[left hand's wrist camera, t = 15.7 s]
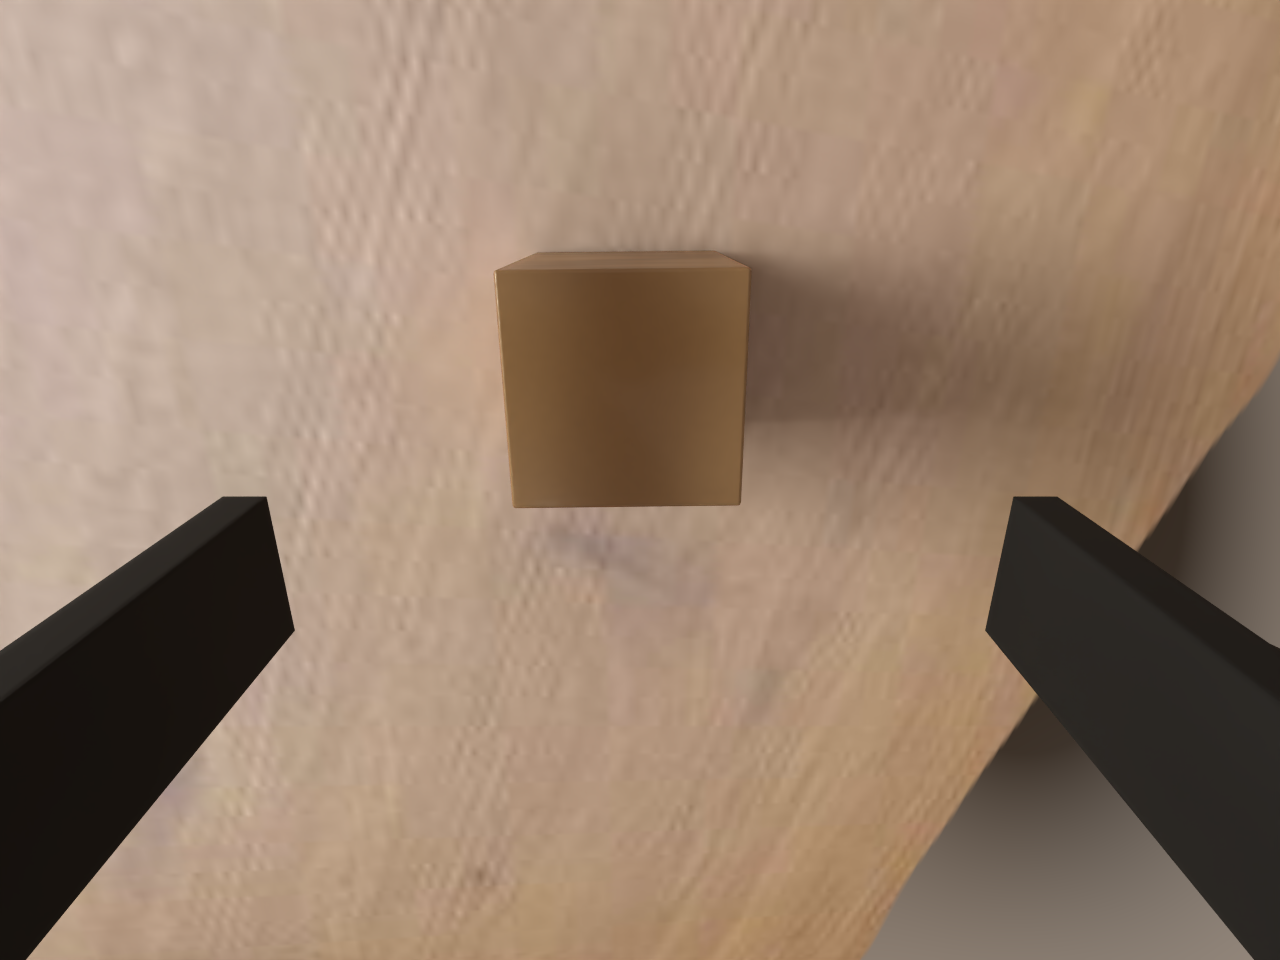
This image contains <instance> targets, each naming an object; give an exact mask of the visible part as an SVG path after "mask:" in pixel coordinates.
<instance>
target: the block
mask: <svg viewBox="0 0 1280 960" xmlns="http://www.w3.org/2000/svg"><path fill="white" fill-rule="evenodd" d="M751 272H752V271H751V268H749V267H747V266H745V265H743V264H741V263H739V262H737V261H735V260H733V259H731V258H728V257H726V256H724V255H722V254H720V253H718V252H716V251H641V252H548V253H536V254H533V255H531V256H528V257H526V258H524V259H521V260H519V261H517V262H514V263H512V264H510V265H507V266H505V267H502V268H500V269H498V270H495V271H494V284H495V296H496V308H497V320H498V332H499V345H500V357H501V369H502V381H503V393H504V406H505V418H506V430H507V442H508V455H509V467H510V479H511V491H512V503H513V507H514V508H558V507H640V506H722V505H740V503H741V490H742V468H743V446H744V424H745V402H746V381H747V359H748V337H749V315H750V293H751Z"/></svg>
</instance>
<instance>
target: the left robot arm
mask: <svg viewBox="0 0 1280 960" xmlns="http://www.w3.org/2000/svg"><path fill="white" fill-rule="evenodd" d="M294 631H295V629H294V625H293V620H292V615H291V611H290V606H289V601H288V596H287V592H286V587H285V582H284V577H283V573H282V568H281V563H280V558H279V554H278V549H277V544H276V540H275V535H274V530H273V525H272V521H271V516H270V511H269V506H268V502H267V497H222V498H220V499H219V500H217V501H216V502H214V503H213V504H212V505H210V506H209V507H207V508H206V509H204V510H203V511H201V512H200V513H199V514H197V515H196V516H194V517H193V518H191V519H190V520H188V521H187V522H186V523H184V524H183V525H181V526H180V527H178V528H177V529H175V530H174V531H173V532H171V533H170V534H168V535H167V536H165V537H164V538H162V539H161V540H160V541H158V542H157V543H155V544H154V545H152V546H151V547H149V548H148V549H147V550H145V551H144V552H142V553H141V554H139V555H138V556H136V557H135V558H134V559H132V560H131V561H129V562H128V563H126V564H125V565H123V566H122V567H121V568H119V569H118V570H116V571H115V572H113V573H112V574H110V575H109V576H108V577H106V578H105V579H103V580H102V581H100V582H99V583H97V584H96V585H95V586H93V587H92V588H90V589H89V590H87V591H86V592H84V593H83V594H82V595H80V596H79V597H77V598H76V599H74V600H73V601H71V602H70V603H69V604H67V605H66V606H64V607H63V608H61V609H60V610H58V611H57V612H56V613H54V614H53V615H51V616H50V617H48V618H47V619H45V620H44V621H43V622H41V623H40V624H38V625H37V626H35V627H34V628H32V629H31V630H30V631H28V632H27V633H25V634H24V635H22V636H21V637H19V638H18V639H17V640H15V641H14V642H12V643H11V644H9V645H8V646H6V647H5V648H4V649H2V650H1V651H0V960H26V959H27V958H28V956H29V955H30V954H31V953H32V952H33V950H34V949H35V948H36V947H37V945H38V944H39V943H40V942H41V941H42V939H43V938H44V937H45V936H46V934H47V933H48V932H49V931H50V930H51V928H52V927H53V926H54V925H55V923H56V922H57V921H58V920H59V919H60V917H61V916H62V915H63V914H64V912H65V911H66V910H67V909H68V908H69V906H70V905H71V904H72V903H73V901H74V900H75V899H76V898H77V896H78V895H79V894H80V893H81V892H82V890H83V889H84V888H85V887H86V885H87V884H88V883H89V882H90V881H91V879H92V878H93V877H94V876H95V874H96V873H97V872H98V871H99V870H100V868H101V867H102V866H103V865H104V863H105V862H106V861H107V860H108V859H109V857H110V856H111V855H112V854H113V852H114V851H115V850H116V849H117V848H118V846H119V845H120V844H121V843H122V841H123V840H124V839H125V838H126V836H127V835H128V834H129V833H130V832H131V830H132V829H133V828H134V827H135V825H136V824H137V823H138V822H139V821H140V819H141V818H142V817H143V816H144V814H145V813H146V812H147V811H148V810H149V808H150V807H151V806H152V805H153V803H154V802H155V801H156V800H157V799H158V797H159V796H160V795H161V794H162V792H163V791H164V790H165V789H166V788H167V786H168V785H169V784H170V783H171V781H172V780H173V779H174V778H175V776H176V775H177V774H178V773H179V772H180V770H181V769H182V768H183V767H184V765H185V764H186V763H187V762H188V761H189V759H190V758H191V757H192V756H193V754H194V753H195V752H196V751H197V750H198V748H199V747H200V746H201V745H202V743H203V742H204V741H205V740H206V739H207V737H208V736H209V735H210V734H211V732H212V731H213V730H214V729H215V728H216V726H217V725H218V724H219V723H220V721H221V720H222V719H223V718H224V716H225V715H226V714H227V713H228V712H229V710H230V709H231V708H232V707H233V705H234V704H235V703H236V702H237V701H238V699H239V698H240V697H241V696H242V694H243V693H244V692H245V691H246V690H247V688H248V687H249V686H250V685H251V683H252V682H253V681H254V680H255V679H256V677H257V676H258V675H259V674H260V672H261V671H262V670H263V669H264V668H265V666H266V665H267V664H268V663H269V661H270V660H271V659H272V658H273V656H274V655H275V654H276V653H277V652H278V650H279V649H280V648H281V647H282V645H283V644H284V643H285V642H286V641H287V639H288V638H289V637H290V636H291V634H292V633H293V632H294ZM985 631H986V632H987V633H988V634H989V636H990V637H991V638H992V639H993V641H994V642H995V643H996V644H997V645H998V647H999V648H1000V649H1001V650H1002V652H1003V653H1004V654H1005V655H1006V656H1007V658H1008V659H1009V660H1010V661H1011V663H1012V664H1013V665H1014V666H1015V668H1016V669H1017V670H1018V671H1019V672H1020V674H1021V675H1022V676H1023V677H1024V679H1025V680H1026V681H1027V682H1028V683H1029V685H1030V686H1031V687H1032V688H1033V690H1034V691H1035V692H1036V693H1037V694H1038V696H1039V697H1040V698H1041V699H1042V701H1043V702H1044V703H1045V704H1046V705H1047V707H1048V708H1049V709H1050V710H1051V712H1052V713H1053V714H1054V715H1055V716H1056V718H1057V719H1058V720H1059V721H1060V723H1061V724H1062V725H1063V726H1064V727H1065V729H1066V730H1067V731H1068V732H1069V734H1070V735H1071V736H1072V737H1073V739H1074V740H1075V741H1076V742H1077V743H1078V745H1079V746H1080V747H1081V748H1082V750H1083V751H1084V752H1085V753H1086V754H1087V756H1088V757H1089V758H1090V759H1091V761H1092V762H1093V763H1094V764H1095V765H1096V767H1097V768H1098V769H1099V770H1100V772H1101V773H1102V774H1103V775H1104V776H1105V778H1106V779H1107V780H1108V781H1109V783H1110V784H1111V785H1112V786H1113V787H1114V789H1115V790H1116V791H1117V792H1118V794H1119V795H1120V796H1121V797H1122V799H1123V800H1124V801H1125V802H1126V803H1127V805H1128V806H1129V807H1130V808H1131V810H1132V811H1133V812H1134V813H1135V814H1136V816H1137V817H1138V818H1139V819H1140V821H1141V822H1142V823H1143V824H1144V825H1145V827H1146V828H1147V829H1148V830H1149V832H1150V833H1151V834H1152V835H1153V836H1154V838H1155V839H1156V840H1157V841H1158V843H1159V844H1160V845H1161V846H1162V847H1163V849H1164V850H1165V851H1166V852H1167V854H1168V855H1169V856H1170V857H1171V859H1172V860H1173V861H1174V862H1175V863H1176V865H1177V866H1178V867H1179V868H1180V870H1181V871H1182V872H1183V873H1184V874H1185V876H1186V877H1187V878H1188V879H1189V881H1190V882H1191V883H1192V884H1193V885H1194V887H1195V888H1196V889H1197V890H1198V892H1199V893H1200V894H1201V895H1202V896H1203V898H1204V899H1205V900H1206V901H1207V903H1208V904H1209V905H1210V906H1211V907H1212V909H1213V910H1214V911H1215V912H1216V914H1217V915H1218V916H1219V917H1220V919H1221V920H1222V921H1223V922H1224V923H1225V925H1226V926H1227V927H1228V928H1229V929H1230V931H1231V932H1232V933H1233V934H1234V936H1235V937H1236V938H1237V939H1238V941H1239V942H1240V943H1241V944H1242V945H1243V947H1244V948H1245V949H1246V950H1247V952H1248V953H1249V954H1250V955H1251V956H1252V958H1253V959H1254V960H1280V648H1278V647H1275V646H1273V645H1271V644H1269V643H1268V642H1266V641H1265V640H1263V639H1262V638H1261V637H1259V636H1258V635H1256V634H1255V633H1253V632H1252V631H1250V630H1249V629H1247V628H1246V627H1245V626H1243V625H1242V624H1240V623H1239V622H1237V621H1236V620H1234V619H1233V618H1232V617H1230V616H1229V615H1227V614H1226V613H1224V612H1223V611H1221V610H1220V609H1219V608H1217V607H1216V606H1214V605H1213V604H1211V603H1210V602H1209V601H1207V600H1206V599H1204V598H1203V597H1201V596H1200V595H1198V594H1197V593H1196V592H1194V591H1193V590H1191V589H1190V588H1188V587H1187V586H1185V585H1184V584H1182V583H1181V582H1180V581H1178V580H1177V579H1175V578H1174V577H1172V576H1171V575H1170V574H1168V573H1167V572H1165V571H1164V570H1162V569H1161V568H1159V567H1158V566H1157V565H1155V564H1154V563H1152V562H1151V561H1149V560H1148V559H1146V558H1145V557H1143V556H1142V555H1141V554H1139V553H1138V552H1136V551H1135V550H1133V549H1132V548H1131V547H1129V546H1128V545H1126V544H1125V543H1123V542H1122V541H1120V540H1119V539H1118V538H1116V537H1115V536H1113V535H1112V534H1110V533H1109V532H1107V531H1106V530H1105V529H1103V528H1102V527H1100V526H1099V525H1097V524H1096V523H1094V522H1093V521H1092V520H1090V519H1089V518H1087V517H1086V516H1084V515H1083V514H1081V513H1080V512H1079V511H1077V510H1076V509H1074V508H1073V507H1071V506H1070V505H1068V504H1067V503H1066V502H1064V501H1063V500H1061V499H1060V498H1058V497H1013V502H1012V506H1011V511H1010V516H1009V521H1008V525H1007V530H1006V535H1005V540H1004V544H1003V549H1002V554H1001V558H1000V563H999V568H998V573H997V577H996V582H995V587H994V592H993V596H992V601H991V606H990V611H989V615H988V620H987V625H986V629H985Z"/></svg>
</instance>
